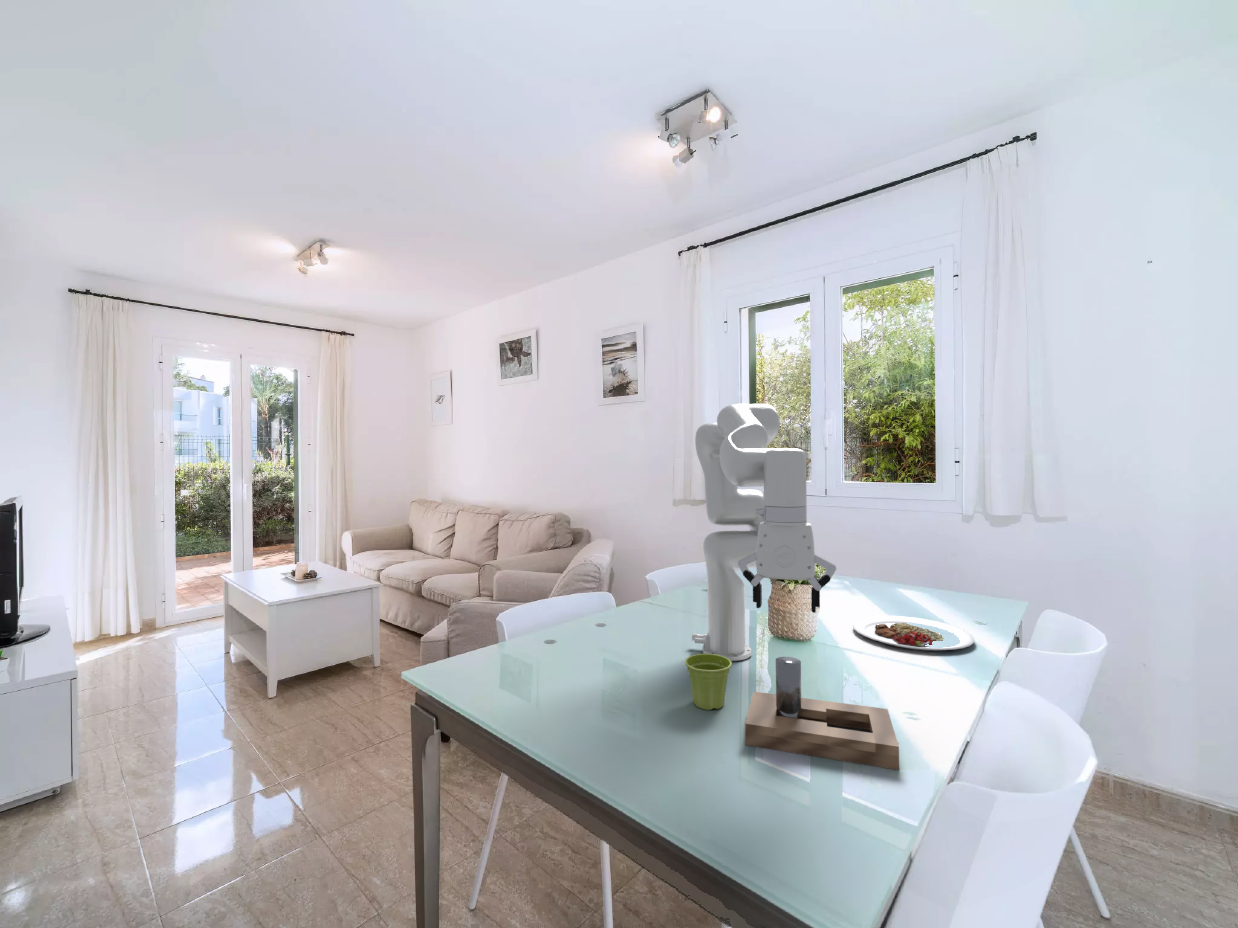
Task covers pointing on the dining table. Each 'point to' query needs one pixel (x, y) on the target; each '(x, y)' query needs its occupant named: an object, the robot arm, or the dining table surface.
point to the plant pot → (708, 679)
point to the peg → (788, 686)
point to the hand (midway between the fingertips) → (785, 608)
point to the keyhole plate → (824, 731)
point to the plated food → (909, 632)
